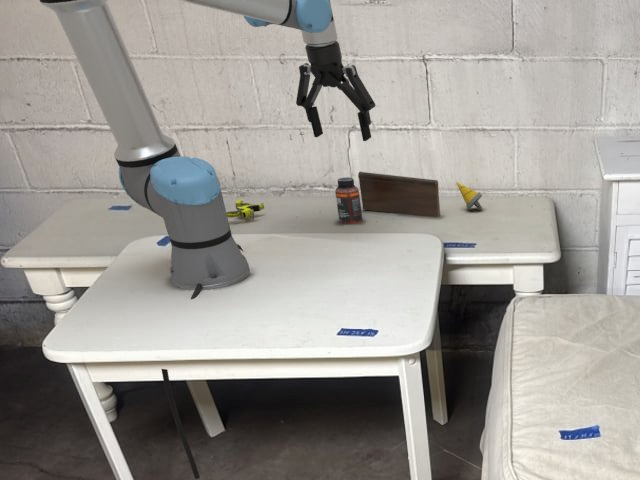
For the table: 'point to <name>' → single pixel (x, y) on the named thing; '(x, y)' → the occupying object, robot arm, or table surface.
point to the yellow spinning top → (470, 196)
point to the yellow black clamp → (245, 209)
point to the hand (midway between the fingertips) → (342, 137)
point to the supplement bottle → (348, 202)
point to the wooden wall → (399, 194)
